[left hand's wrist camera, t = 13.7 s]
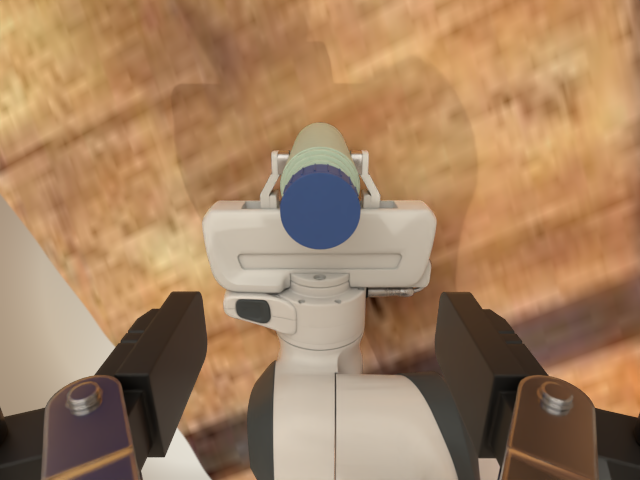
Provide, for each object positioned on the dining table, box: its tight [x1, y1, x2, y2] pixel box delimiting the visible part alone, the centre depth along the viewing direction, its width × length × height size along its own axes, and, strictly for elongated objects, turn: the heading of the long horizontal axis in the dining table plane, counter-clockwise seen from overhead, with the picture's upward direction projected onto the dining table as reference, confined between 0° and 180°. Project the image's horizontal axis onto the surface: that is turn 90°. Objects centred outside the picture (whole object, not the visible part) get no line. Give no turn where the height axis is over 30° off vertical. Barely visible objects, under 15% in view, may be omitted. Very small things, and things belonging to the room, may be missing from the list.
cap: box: [280, 163, 361, 250], centre depth 22 cm, size 4×4×2 cm
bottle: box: [280, 122, 360, 197], centre depth 31 cm, size 5×5×20 cm
